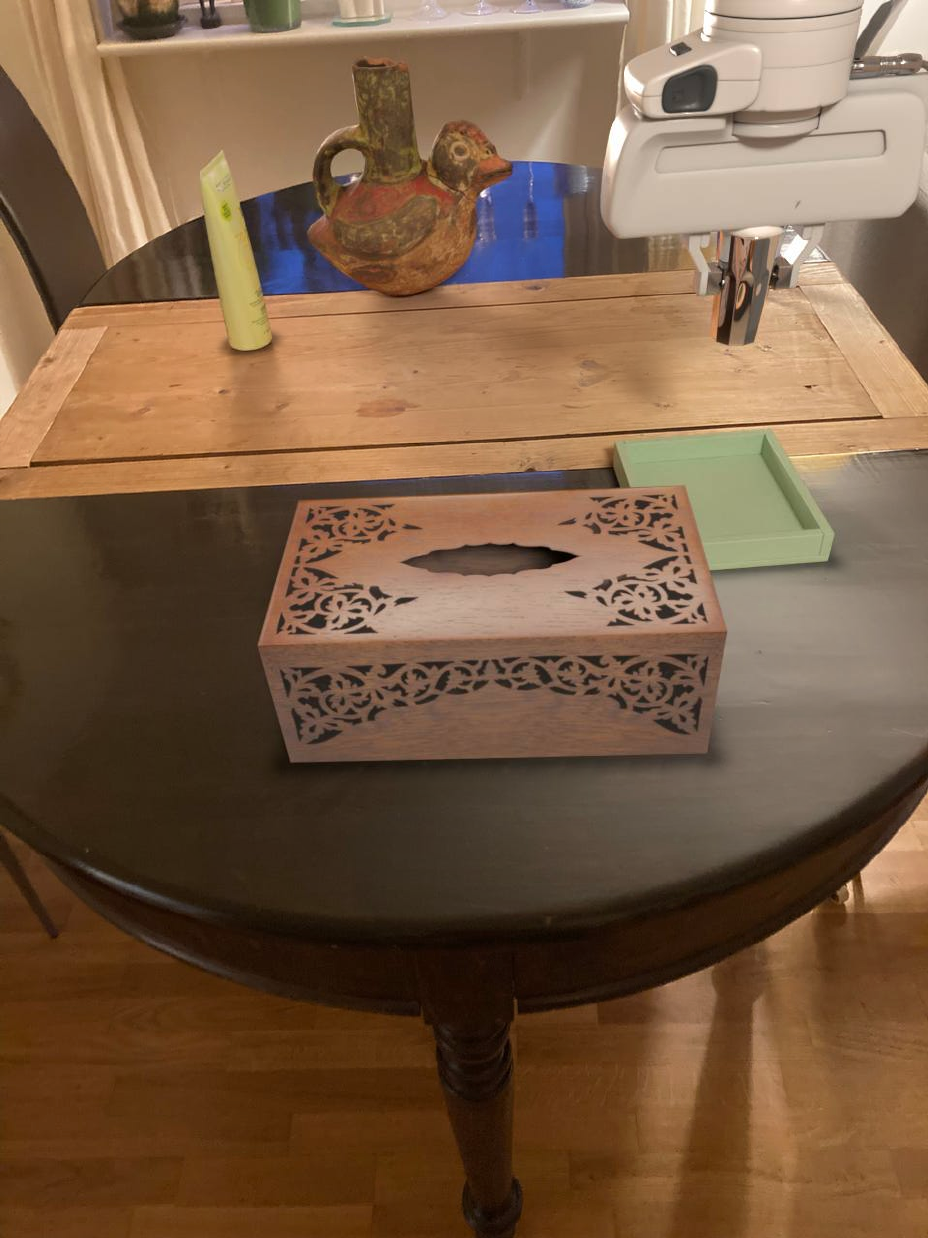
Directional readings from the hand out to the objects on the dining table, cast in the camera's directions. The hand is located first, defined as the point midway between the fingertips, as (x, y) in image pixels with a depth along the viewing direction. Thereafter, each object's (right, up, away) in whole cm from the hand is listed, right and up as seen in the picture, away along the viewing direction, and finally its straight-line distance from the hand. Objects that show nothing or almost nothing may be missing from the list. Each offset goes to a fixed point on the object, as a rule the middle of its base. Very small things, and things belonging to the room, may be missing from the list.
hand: (743, 289), depth 65 cm
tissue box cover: (-17, -27, -2) cm, 32 cm away
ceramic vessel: (-26, +18, +51) cm, 60 cm away
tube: (-44, +8, +41) cm, 61 cm away
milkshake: (0, -3, +3) cm, 4 cm away
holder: (+1, -14, +11) cm, 18 cm away
